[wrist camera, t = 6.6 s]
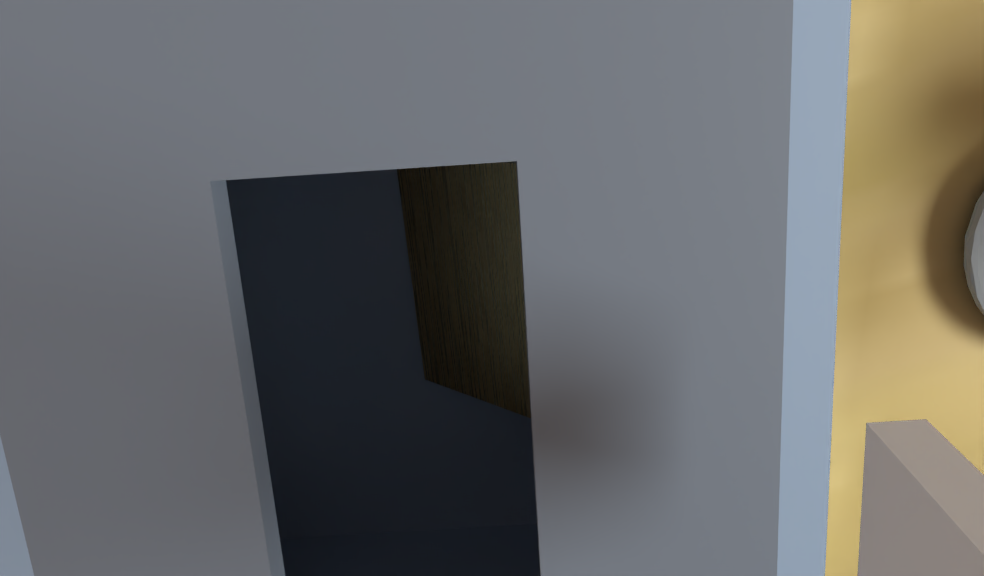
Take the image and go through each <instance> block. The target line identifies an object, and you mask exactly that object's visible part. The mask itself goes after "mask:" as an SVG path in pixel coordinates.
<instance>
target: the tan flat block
mask: <svg viewBox="0 0 984 576" xmlns="http://www.w3.org/2000/svg"><path fill="white" fill-rule="evenodd" d="M397 175H398V182H399V190H400V197H401V205H402V212H403V220H404V227H405V235H406V242H407V250H408V257H409V265H410V272H411V280H412V287H413V295H414V302H415V310H416V317H417V325H418V332H419V340H420V347H421V355H422V362H423V370H424V377H425V380H428V381H431V382H433V383H436V384H439V385H441V386H444V387H447V388H450V389H452V390H455V391H458V392H460V393H463V394H466V395H469V396H471V397H474V398H477V399H479V400H482V401H485V402H488V403H490V404H493V405H496V406H498V407H501V408H504V409H507V410H509V411H512V412H515V413H517V414H520V415H523V416H526V417H528V418H531V411H530V394H529V376H528V359H527V342H526V324H525V307H524V290H523V273H522V255H521V238H520V221H519V203H518V186H517V169H516V161H512V162H497V163H482V164H466V165H451V166H436V167H421V168H405V169H397Z"/></svg>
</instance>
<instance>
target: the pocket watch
mask: <svg viewBox="0 0 984 576" xmlns="http://www.w3.org/2000/svg"><path fill="white" fill-rule="evenodd" d="M964 269H965V274H966V280H967V285H968V288H969V290H970V292H971V295H972V297H973V299H974V302H975V304H976V306H977V307H978V308H979V310H980V311H981V312H982V314H983V315H984V191H983V193H982V194H981V196H980V197H979V199H978V201H977V202H976V205H975V208H974V211H973V214H972V217H971V220H970V223H969V226H968V229H967V232H966V235H965V245H964Z"/></svg>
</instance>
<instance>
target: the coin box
mask: <svg viewBox="0 0 984 576" xmlns="http://www.w3.org/2000/svg"><path fill="white" fill-rule="evenodd" d="M850 16H851V0H0V576H825V560H826V539H827V517H828V495H829V473H830V452H831V430H832V408H833V386H834V364H835V343H836V321H837V299H838V277H839V256H840V234H841V212H842V190H843V168H844V147H845V125H846V103H847V81H848V60H849V38H850ZM512 161H516V169H517V186H518V203H519V221H520V238H521V255H522V273H523V290H524V307H525V324H526V342H527V359H528V376H529V394H530V411H531V418H528V417H526V416H523V415H520V414H517V413H515V412H512V411H509V410H507V409H504V408H501V407H498V406H496V405H493V404H490V403H488V402H485V401H482V400H479V399H477V398H474V397H471V396H469V395H466V394H463V393H460V392H458V391H455V390H452V389H450V388H447V387H444V386H441V385H439V384H436V383H433V382H431V381H428V380H425V377H424V370H423V362H422V355H421V347H420V340H419V332H418V325H417V317H416V310H415V302H414V295H413V287H412V280H411V272H410V265H409V257H408V250H407V242H406V235H405V227H404V220H403V212H402V205H401V197H400V190H399V182H398V175H397V169H405V168H421V167H436V166H451V165H466V164H482V163H497V162H512Z"/></svg>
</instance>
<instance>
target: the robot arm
mask: <svg viewBox="0 0 984 576" xmlns="http://www.w3.org/2000/svg"><path fill="white" fill-rule="evenodd" d="M858 576H984V475H983V474H982V473H981V472H980V471H979V470H978V469H977V468H976V467H975V466H974V465H973V464H972V463H971V462H970V461H968V460H967V459H966V458H965V457H964V456H963V455H962V454H961V453H960V452H959V451H958V450H957V449H956V448H955V447H954V446H953V445H952V444H951V443H950V442H949V441H948V440H947V439H946V438H945V437H944V436H943V435H942V434H941V433H940V432H939V431H938V430H936V429H935V428H934V427H933V426H932V425H931V424H930V423H929V422H928V421H927V420H926V419H923V420H906V421H890V422H873V423H866V440H865V457H864V474H863V492H862V509H861V526H860V543H859V561H858Z"/></svg>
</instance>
